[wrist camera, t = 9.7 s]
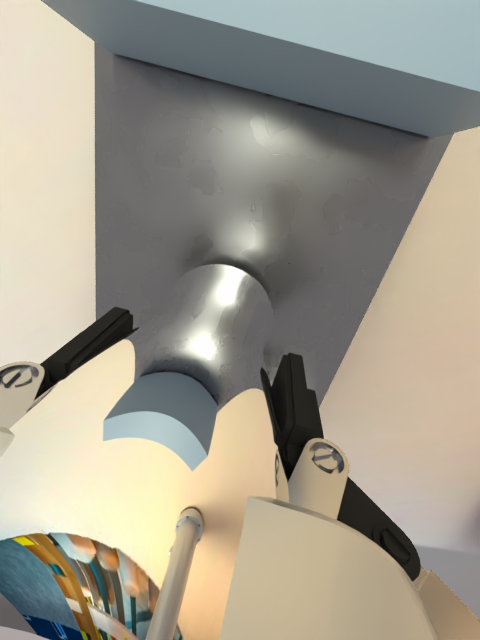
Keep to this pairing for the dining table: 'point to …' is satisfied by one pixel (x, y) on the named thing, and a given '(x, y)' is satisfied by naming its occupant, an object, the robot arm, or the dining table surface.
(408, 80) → the bar
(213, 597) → the beer glass
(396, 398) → the dining table surface
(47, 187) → the dining table surface
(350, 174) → the vise base
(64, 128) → the dining table surface
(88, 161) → the dining table surface
